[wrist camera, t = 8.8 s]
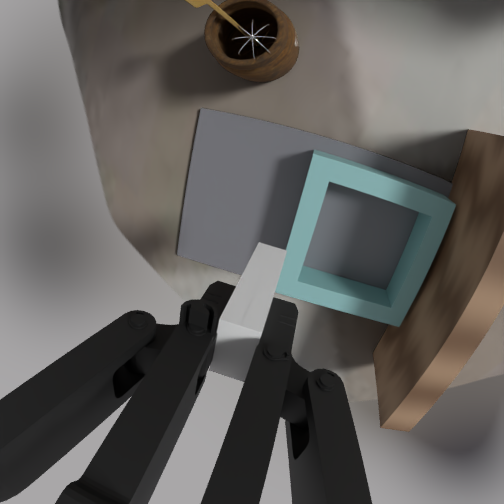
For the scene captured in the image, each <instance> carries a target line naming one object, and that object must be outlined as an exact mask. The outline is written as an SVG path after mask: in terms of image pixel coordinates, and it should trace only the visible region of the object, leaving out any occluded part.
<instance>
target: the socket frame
mask: <svg viewBox="0 0 504 504" xmlns="http://www.w3.org/2000/svg"><path fill="white" fill-rule="evenodd" d="M329 182H333V183H336V184H339V185H342V186H345V187H349V188H352V189H355V190H358V191H361V192H364V193H367V194H370V195H373V196H376V197H379V198H382V199H385V200H387V201H390V202H393V203H396V204H399V205H401V206H404V207H407V208H410V209H412V210H415V211H418V212H419V214H418V216H417V219H416V222H415V224H414V227H413V229H412V232H411V234H410V237H409V239H408V242H407V244H406V246H405V249H404V251H403V254H402V256H401V258H400V260H399V263H398V265H397V267H396V270H395V272H394V274H393V276H392V278H391V281H390V283H389V285H388V287H387V289H386V290H384V289H381V288H377V287H374V286H371V285H367V284H364V283H360V282H357V281H354V280H350V279H347V278H344V277H340V276H337V275H333V274H330V273H327V272H323V271H320V270H317V269H313V268H310V267H306V266H303V263H304V260H305V257H306V254H307V251H308V248H309V244H310V241H311V238H312V235H313V232H314V229H315V226H316V223H317V219H318V216H319V213H320V210H321V207H322V203H323V200H324V197H325V193H326V190H327V187H328V183H329ZM455 207H456V204H455V203H454V202H452V201H451V200H450V199H448V198H447V197H446V196H444V195H443V194H440V193H438V192H435V191H433V190H431V189H428V188H426V187H423V186H421V185H418V184H415V183H413V182H410V181H408V180H405V179H402V178H400V177H397V176H394V175H391V174H389V173H386V172H383V171H380V170H377V169H374V168H372V167H369V166H366V165H363V164H360V163H357V162H354V161H350V160H347V159H344V158H341V157H338V156H335V155H331V154H328V153H325V152H321V151H318V150H314V152H313V155H312V159H311V163H310V166H309V170H308V174H307V177H306V181H305V184H304V188H303V192H302V195H301V199H300V202H299V206H298V209H297V213H296V216H295V220H294V223H293V226H292V230H291V233H290V237H289V240H288V244H287V247H286V251H287V253H286V256H285V260H284V263H283V267H282V270H281V273H280V277H279V280H278V283H277V286H276V290H275V292H276V293H280V294H283V295H287V296H290V297H293V298H297V299H300V300H304V301H307V302H311V303H314V304H318V305H321V306H325V307H328V308H332V309H335V310H339V311H342V312H346V313H350V314H353V315H357V316H360V317H364V318H368V319H371V320H375V321H379V322H382V323H386V324H390V325H394V326H398V327H399V326H400V325H401V323H402V321H403V319H404V317H405V315H406V314H407V312H408V310H409V308H410V306H411V304H412V302H413V300H414V298H415V297H416V295H417V293H418V291H419V289H420V287H421V285H422V283H423V281H424V278H425V276H426V274H427V272H428V270H429V268H430V266H431V264H432V262H433V259H434V257H435V255H436V253H437V250H438V248H439V246H440V244H441V241H442V239H443V237H444V234H445V232H446V229H447V227H448V224H449V222H450V219H451V217H452V214H453V212H454V209H455Z"/></svg>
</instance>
